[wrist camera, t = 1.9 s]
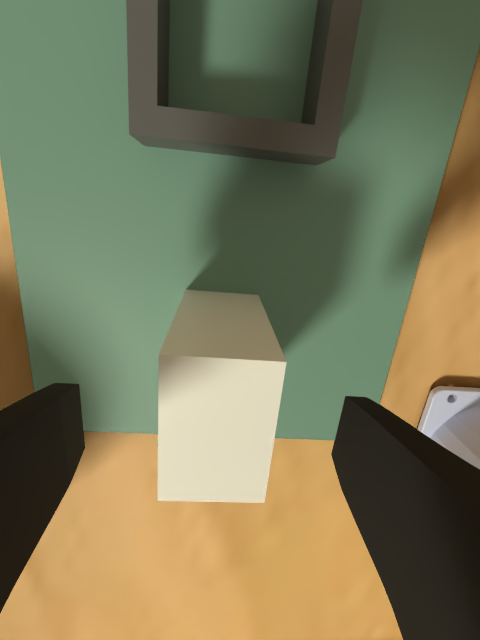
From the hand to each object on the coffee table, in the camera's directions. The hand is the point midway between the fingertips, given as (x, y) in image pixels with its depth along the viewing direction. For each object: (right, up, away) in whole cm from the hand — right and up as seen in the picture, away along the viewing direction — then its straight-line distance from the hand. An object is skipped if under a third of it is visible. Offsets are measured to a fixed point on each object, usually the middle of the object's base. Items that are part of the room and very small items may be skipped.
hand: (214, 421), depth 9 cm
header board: (0, +8, +4) cm, 9 cm away
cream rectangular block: (0, +2, +5) cm, 5 cm away
